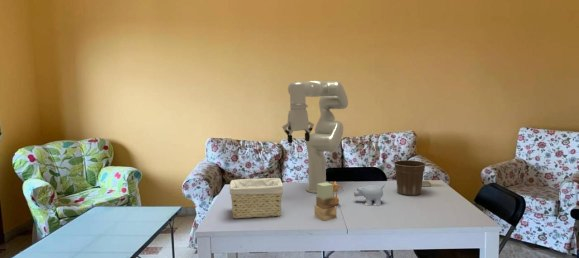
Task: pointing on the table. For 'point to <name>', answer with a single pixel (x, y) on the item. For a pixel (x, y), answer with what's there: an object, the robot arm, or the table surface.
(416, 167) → the plant pot
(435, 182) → the table surface
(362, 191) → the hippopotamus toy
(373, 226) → the table surface
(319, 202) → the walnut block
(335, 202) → the figurine
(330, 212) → the oak block
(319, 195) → the sage block
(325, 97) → the robot arm
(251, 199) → the storage basket
